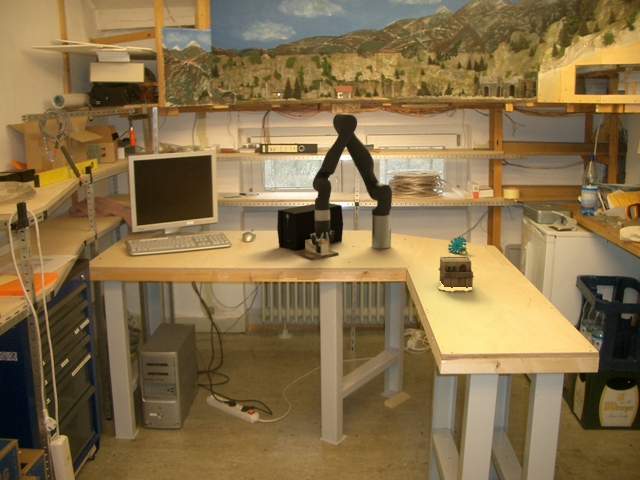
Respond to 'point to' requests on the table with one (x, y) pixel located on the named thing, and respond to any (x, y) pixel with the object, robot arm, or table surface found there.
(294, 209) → the uninterruptible power supply
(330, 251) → the ticket board
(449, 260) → the miniature house
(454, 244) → the teal spiky round piece
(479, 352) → the table surface
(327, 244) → the orange-striped cream block
